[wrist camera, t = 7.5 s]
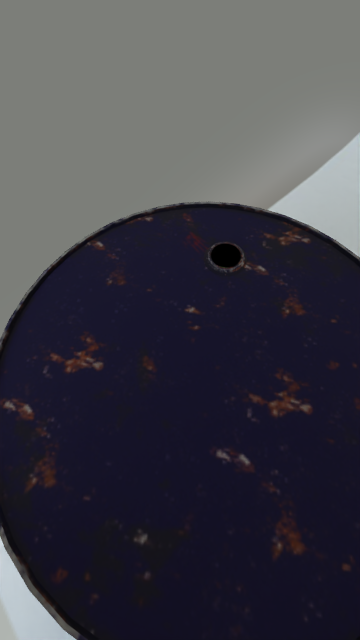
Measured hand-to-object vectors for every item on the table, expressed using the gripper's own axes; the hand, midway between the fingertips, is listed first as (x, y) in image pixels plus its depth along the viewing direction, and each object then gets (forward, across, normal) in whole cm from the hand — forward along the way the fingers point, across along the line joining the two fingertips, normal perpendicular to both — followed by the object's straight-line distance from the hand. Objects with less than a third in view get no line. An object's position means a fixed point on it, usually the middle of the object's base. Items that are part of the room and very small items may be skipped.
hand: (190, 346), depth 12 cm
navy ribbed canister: (+4, 0, -8) cm, 9 cm away
